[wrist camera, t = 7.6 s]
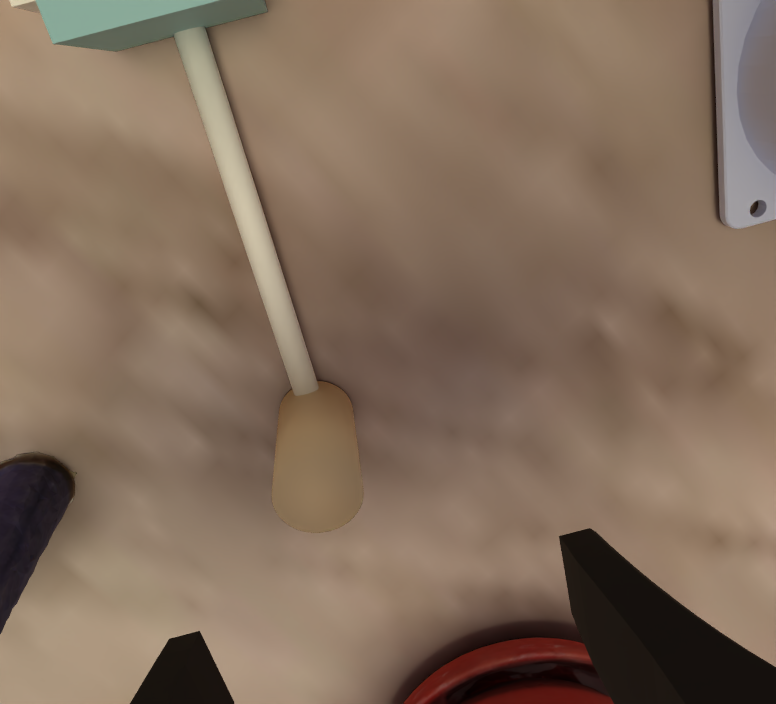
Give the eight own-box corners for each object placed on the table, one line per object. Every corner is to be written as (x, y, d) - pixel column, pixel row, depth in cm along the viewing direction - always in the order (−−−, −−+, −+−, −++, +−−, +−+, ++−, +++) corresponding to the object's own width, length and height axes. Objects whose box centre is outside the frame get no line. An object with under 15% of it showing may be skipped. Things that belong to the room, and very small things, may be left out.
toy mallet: (214, -177, 15) (180, -272, 11) (384, 429, 22) (401, 511, 18) (47, -134, 15) (-51, -213, 11) (267, 460, 22) (258, 550, 18)
